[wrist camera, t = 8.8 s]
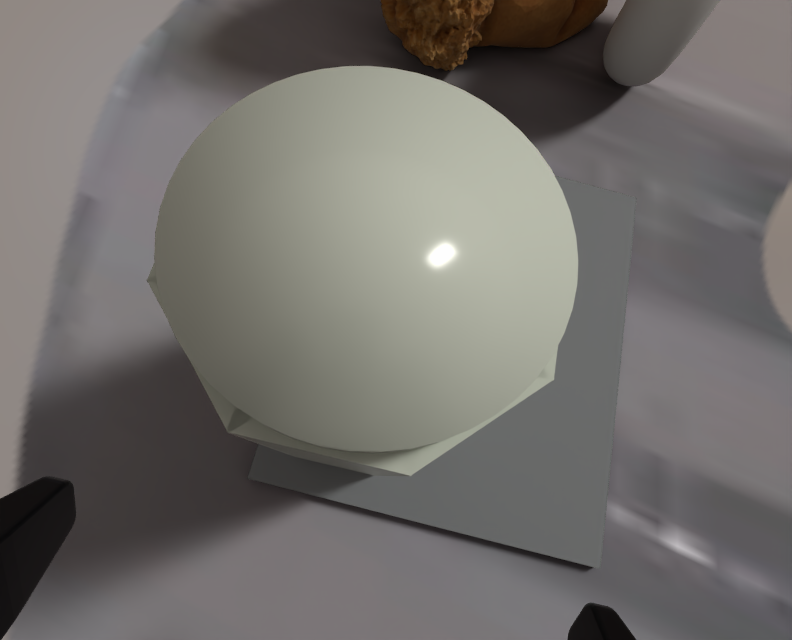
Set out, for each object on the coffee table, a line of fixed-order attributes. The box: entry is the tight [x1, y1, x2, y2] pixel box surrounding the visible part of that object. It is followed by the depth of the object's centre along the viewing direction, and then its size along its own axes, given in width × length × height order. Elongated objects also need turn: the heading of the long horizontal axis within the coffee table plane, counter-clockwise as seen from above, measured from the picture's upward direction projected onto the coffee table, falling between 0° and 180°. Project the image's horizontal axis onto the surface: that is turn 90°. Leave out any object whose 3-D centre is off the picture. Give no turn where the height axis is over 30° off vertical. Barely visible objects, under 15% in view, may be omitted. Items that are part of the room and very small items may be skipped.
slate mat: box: [247, 175, 637, 569], centre depth 22 cm, size 17×14×1 cm
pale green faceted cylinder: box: [147, 66, 578, 476], centre depth 14 cm, size 7×7×12 cm
